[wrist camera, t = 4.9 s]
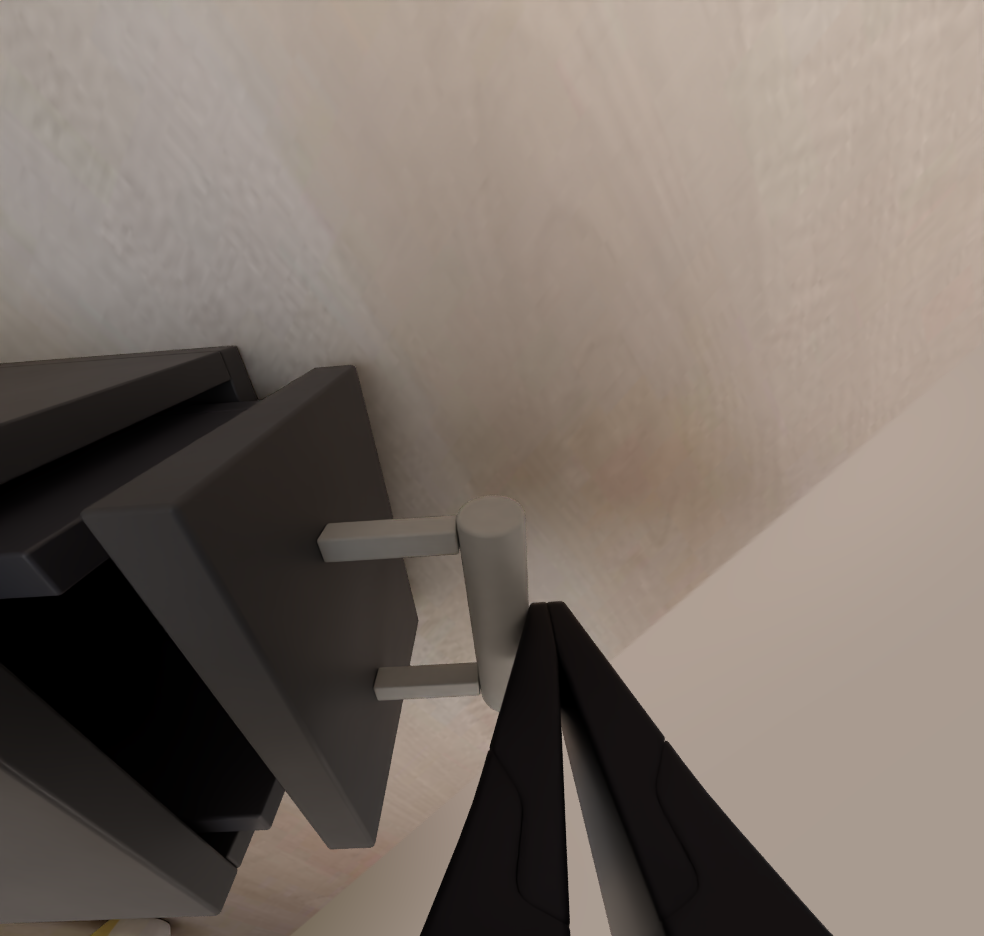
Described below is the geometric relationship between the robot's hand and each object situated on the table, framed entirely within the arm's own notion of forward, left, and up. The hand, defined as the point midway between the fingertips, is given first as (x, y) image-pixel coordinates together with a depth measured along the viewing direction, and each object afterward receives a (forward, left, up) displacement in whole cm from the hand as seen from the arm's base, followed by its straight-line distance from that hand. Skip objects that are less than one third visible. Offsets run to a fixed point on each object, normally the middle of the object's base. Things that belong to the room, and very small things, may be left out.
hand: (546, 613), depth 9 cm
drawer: (+6, +6, -4) cm, 10 cm away
